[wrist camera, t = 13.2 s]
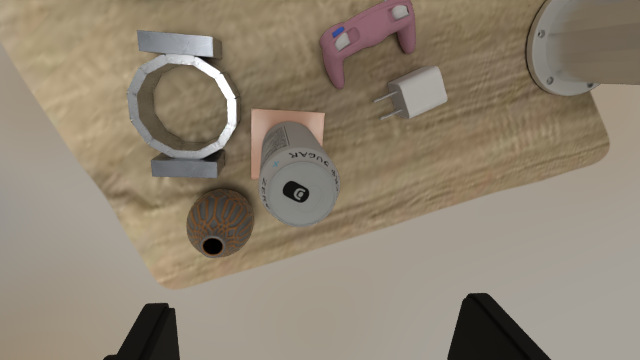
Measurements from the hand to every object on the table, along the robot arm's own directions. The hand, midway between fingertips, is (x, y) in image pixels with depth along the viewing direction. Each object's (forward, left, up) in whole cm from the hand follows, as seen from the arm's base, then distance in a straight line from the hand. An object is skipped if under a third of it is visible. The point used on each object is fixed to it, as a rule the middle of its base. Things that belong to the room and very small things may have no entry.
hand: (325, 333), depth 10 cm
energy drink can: (0, 0, -27) cm, 27 cm away
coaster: (0, 0, -28) cm, 28 cm away
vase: (+7, +8, -28) cm, 30 cm away
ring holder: (+10, -4, -28) cm, 30 cm away
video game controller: (-7, -11, -28) cm, 31 cm away
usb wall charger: (-12, -6, -28) cm, 31 cm away
